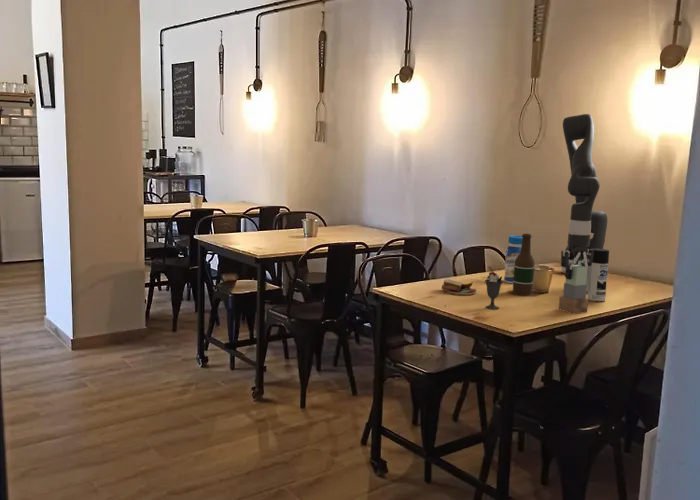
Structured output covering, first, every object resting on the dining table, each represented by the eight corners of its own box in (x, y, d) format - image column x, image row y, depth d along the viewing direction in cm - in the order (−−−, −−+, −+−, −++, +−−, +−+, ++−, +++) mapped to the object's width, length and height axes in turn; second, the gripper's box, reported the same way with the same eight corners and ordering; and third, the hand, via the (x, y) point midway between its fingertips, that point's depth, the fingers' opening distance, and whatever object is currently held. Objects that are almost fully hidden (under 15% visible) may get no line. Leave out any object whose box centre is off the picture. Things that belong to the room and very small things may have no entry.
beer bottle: (532, 295, 268) (537, 235, 264) (512, 294, 270) (517, 234, 266) (531, 291, 276) (536, 233, 272) (512, 290, 277) (516, 232, 273)
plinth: (572, 307, 251) (573, 294, 250) (587, 312, 245) (588, 298, 244) (558, 309, 248) (559, 296, 247) (572, 314, 242) (574, 300, 241)
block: (575, 282, 248) (576, 264, 247) (585, 284, 244) (587, 267, 243) (565, 283, 246) (566, 265, 245) (575, 285, 242) (577, 268, 241)
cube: (574, 295, 249) (575, 282, 248) (585, 298, 244) (586, 285, 244) (563, 296, 247) (564, 283, 246) (574, 299, 242) (575, 286, 241)
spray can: (596, 302, 260) (601, 251, 257) (583, 298, 266) (587, 248, 263) (608, 301, 263) (613, 250, 260) (595, 297, 269) (599, 247, 266)
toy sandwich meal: (470, 298, 262) (471, 286, 261) (437, 293, 268) (438, 281, 267) (479, 292, 273) (480, 280, 272) (447, 287, 279) (448, 276, 278)
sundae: (480, 305, 249) (483, 265, 247) (498, 305, 250) (501, 265, 247) (485, 310, 243) (488, 268, 240) (503, 310, 243) (506, 269, 241)
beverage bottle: (526, 281, 295) (529, 236, 292) (519, 285, 288) (523, 238, 285) (507, 279, 300) (510, 234, 296) (500, 282, 293) (504, 236, 289)
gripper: (586, 230, 248) (582, 275, 251) (556, 232, 242) (553, 277, 244) (602, 233, 242) (597, 279, 245) (572, 234, 235) (568, 282, 238)
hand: (575, 278), depth 244 cm, fingers open, 6 cm apart
